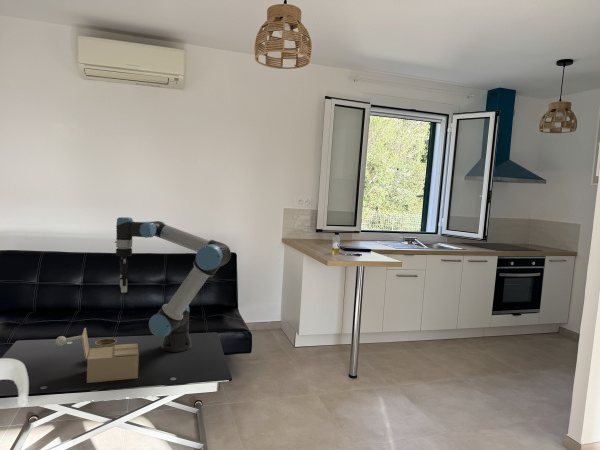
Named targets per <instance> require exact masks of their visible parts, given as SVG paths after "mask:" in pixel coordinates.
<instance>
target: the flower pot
mask: <svg viewBox="0 0 600 450" xmlns="http://www.w3.org/2000/svg"><path fill="white" fill-rule="evenodd" d="M117 341H118V340H117V339H115V338H102V339H97V340H96V341H95V342H94V343H95V347H96V348H104V347H115V345H117V344H116V343H117Z"/></svg>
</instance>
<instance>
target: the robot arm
mask: <svg viewBox="0 0 600 450" xmlns="http://www.w3.org/2000/svg"><path fill="white" fill-rule="evenodd" d="M115 227H116V228H115V229H116V240H115V241H114V244H116V249H115V255H116V256H117V257H120V258H119V266H120V269H119V287H120V292H121V293H128V266H129V259H128V257H131V256H132V255H133V238H134V237H135V238H145V239H148V238H153V237H155V238H159V239H163V240H165V241H168V242H170V243H172V244H175V245H178V246H180V247H183V248H186V249H189V250H191V251H192V252H193V251H194V252H196V254H195V259H194V260H193V262H192V263H193V267H192V269H191V270H190V272H189V273H188V275H187V276H186V278H185V279H184V280H183V282H182V284H181V285H180V286H179V288H178V289H177V290H176V292H174V294H173V296H172V297H171V299H170V300H169V301H168V303H164V304H163V305H162V307H161V308H160V309H159V310H158V312H157V313H155V314H154V315H152V316H151V317H150V319H149V321H148V327H149V331H150V332H151V333H152V335H154V336H155V337H157V338H163V339H162V342H161V349H162V350H163V351H165V352H172V353H178V352H184V351H188V350H190V349H191V348H192V340H191V337H190V333H189V329H190V328H189V325H190V306H189V305H190V304H191V302H192V301H193V300H194V298H195V297H196V295H197V294H198V293H199V292H200V291H201V290H200V289H201V288H202V287H203V285H204V284H205V283H206V281H207V280H208V278H209V277H214V275H215V274H216V272H217V271H218V270H219V268H220V267H222V266H225V265H227V264H228V262H229V261H230V259H231V256H232V253H231V249H230V247H229V246H228V245H227V244H225V243H223V242H220V241H217V240H214V239H210V240H208V239H205V238H202V237H200V236H198V235H194V234H193V233H189V232H186V231H184V230H181V229H178V228H176V227H173V226H171V225H168V224H165V222H164V221H161V220H155V221H134V219H133V217H128V216H127V217H123V216H121V217H117V219H116V225H115Z"/></svg>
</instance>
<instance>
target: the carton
mask: <svg viewBox="0 0 600 450" xmlns="http://www.w3.org/2000/svg"><path fill="white" fill-rule="evenodd" d="M139 357H140V355H139V345H138V343H126V344H115V347H104V348H97V347H92V348H91V347H89V352H88V356H87V359H86V360H87V361H86V362H87V367H86V369H87V370H86V384H87V383H89V384H90V383H101V382H109V381H110V382H113V381H121V380H131V379H138V378H139Z"/></svg>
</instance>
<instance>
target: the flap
mask: <svg viewBox="0 0 600 450" xmlns="http://www.w3.org/2000/svg"><path fill="white" fill-rule="evenodd" d="M79 339H81V341H82V348H83V349H82V350H83V355H84V359H85V360H88V355H89V351H90V344H89V340H88V339H89V338H88V333H87V327H84V328H83V332H82V335H77V336H71V337H65V336H63V335H61V336H57V338H56V339H55V345H57V346H60V347H62V346H65V344H66V343H67V342H70V341H74V340H79Z"/></svg>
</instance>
